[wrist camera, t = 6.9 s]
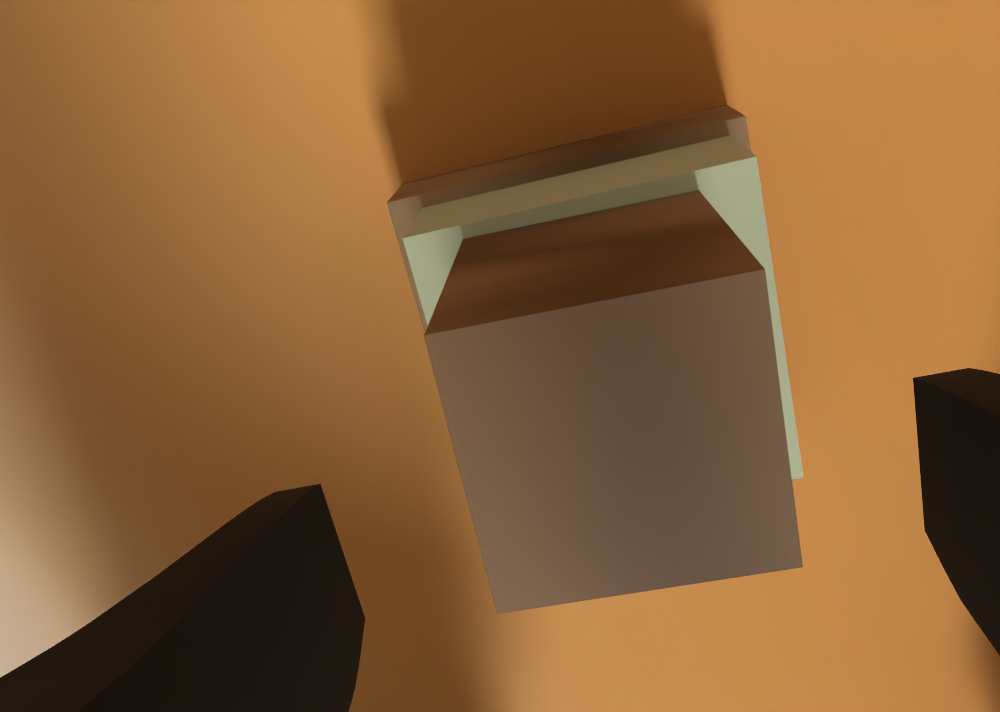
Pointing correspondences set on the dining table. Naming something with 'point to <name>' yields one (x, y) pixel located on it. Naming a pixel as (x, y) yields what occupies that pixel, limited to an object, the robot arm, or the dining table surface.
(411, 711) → the dining table surface
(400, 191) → the slab bottom
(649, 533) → the walnut block
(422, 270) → the slab top
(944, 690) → the dining table surface
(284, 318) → the dining table surface
